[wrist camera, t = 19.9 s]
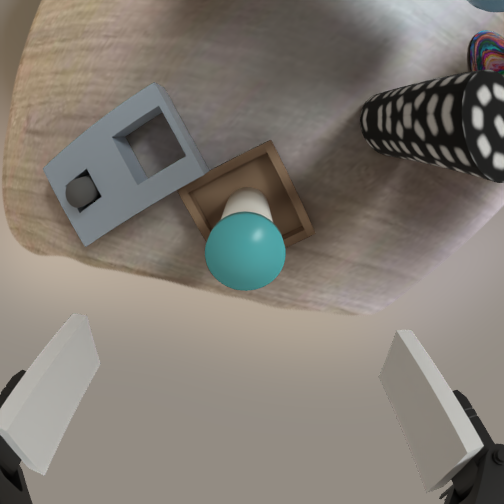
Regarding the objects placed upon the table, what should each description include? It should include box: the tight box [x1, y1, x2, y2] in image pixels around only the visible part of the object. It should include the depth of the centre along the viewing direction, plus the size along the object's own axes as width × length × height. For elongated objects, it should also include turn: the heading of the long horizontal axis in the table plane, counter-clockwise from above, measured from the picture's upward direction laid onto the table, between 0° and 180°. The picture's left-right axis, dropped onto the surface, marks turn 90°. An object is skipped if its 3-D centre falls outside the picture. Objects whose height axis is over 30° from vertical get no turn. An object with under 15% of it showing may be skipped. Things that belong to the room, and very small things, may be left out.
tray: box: [177, 140, 316, 248], centre depth 35 cm, size 12×12×2 cm
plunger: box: [65, 175, 102, 208], centre depth 32 cm, size 3×3×4 cm
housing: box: [43, 82, 209, 247], centre depth 33 cm, size 12×18×4 cm, turn 117°
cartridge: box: [205, 187, 286, 291], centre depth 29 cm, size 6×6×15 cm
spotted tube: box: [360, 70, 504, 183], centre depth 23 cm, size 8×8×20 cm
